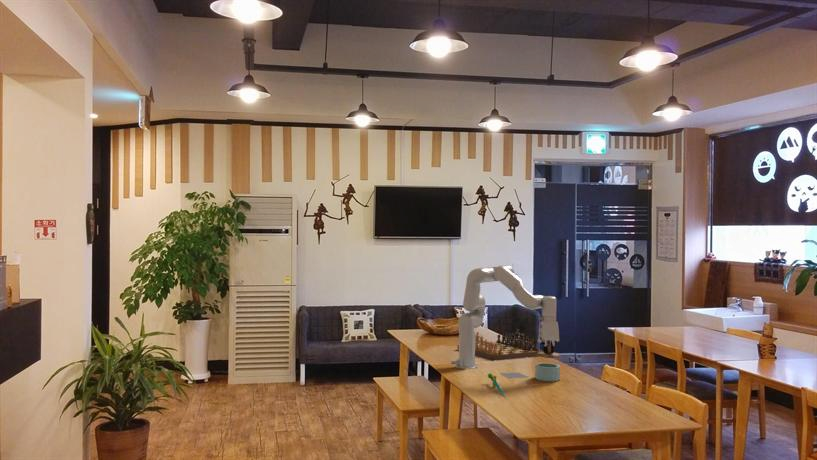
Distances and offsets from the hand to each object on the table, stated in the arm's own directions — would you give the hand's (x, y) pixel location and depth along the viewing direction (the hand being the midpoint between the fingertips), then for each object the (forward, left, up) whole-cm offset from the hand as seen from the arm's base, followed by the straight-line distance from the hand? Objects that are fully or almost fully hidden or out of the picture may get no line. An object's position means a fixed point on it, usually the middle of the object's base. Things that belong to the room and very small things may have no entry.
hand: (548, 353), depth 367 cm
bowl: (0, 0, -15) cm, 15 cm away
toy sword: (-37, -15, -15) cm, 43 cm away
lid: (0, 0, -1) cm, 1 cm away
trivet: (-14, +12, -15) cm, 24 cm away
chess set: (+9, +80, -15) cm, 82 cm away
